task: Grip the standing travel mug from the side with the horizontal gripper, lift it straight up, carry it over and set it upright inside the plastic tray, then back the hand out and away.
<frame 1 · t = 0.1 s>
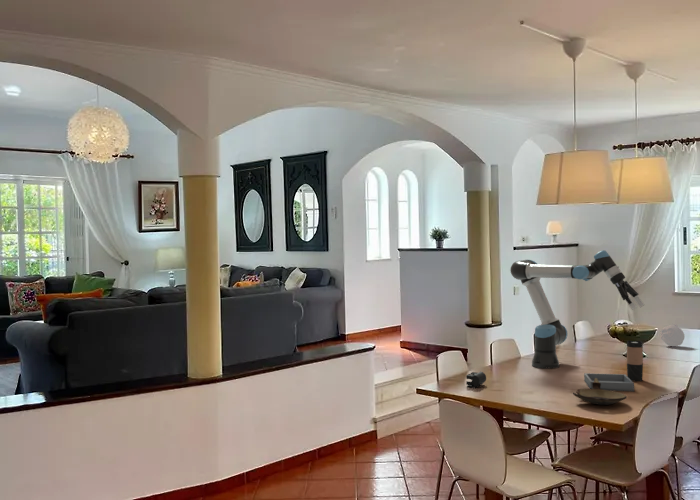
hand: (638, 307, 350), 36 cm above the table, tool tilted 35°, fingers open, 13 cm apart
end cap: (476, 386, 325), on the table
decorative ball: (672, 347, 429), on the table
parts tray: (608, 385, 321), on the table
oil lamp: (601, 402, 291), on the table
travel mug: (634, 380, 334), on the table
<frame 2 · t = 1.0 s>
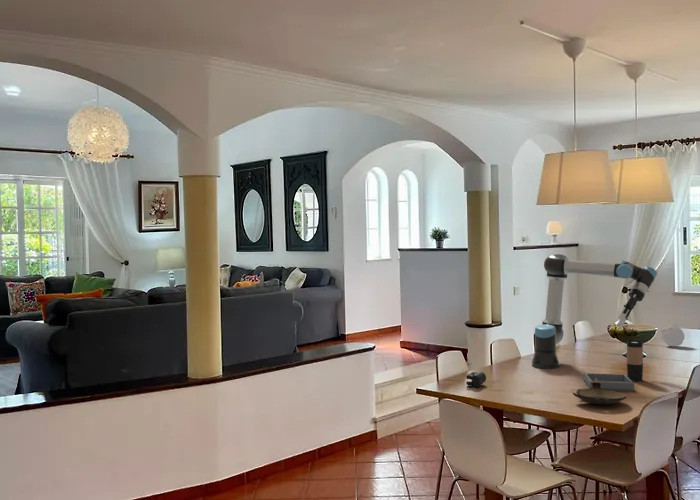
hand: (619, 323, 347), 28 cm above the table, tool tilted 40°, fingers open, 13 cm apart
nothing on the table moved.
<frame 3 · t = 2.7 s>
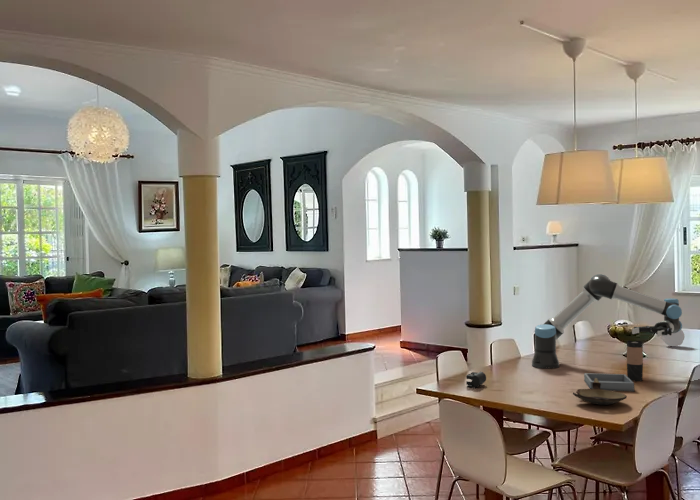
hand: (645, 332, 339), 24 cm above the table, tool horizontal, fingers open, 13 cm apart
nothing on the table moved.
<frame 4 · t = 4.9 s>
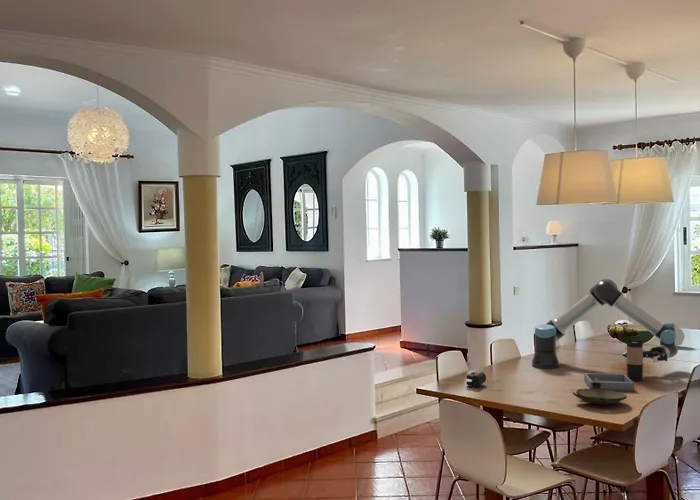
hand: (640, 358, 337), 11 cm above the table, tool horizontal, fingers open, 13 cm apart
nothing on the table moved.
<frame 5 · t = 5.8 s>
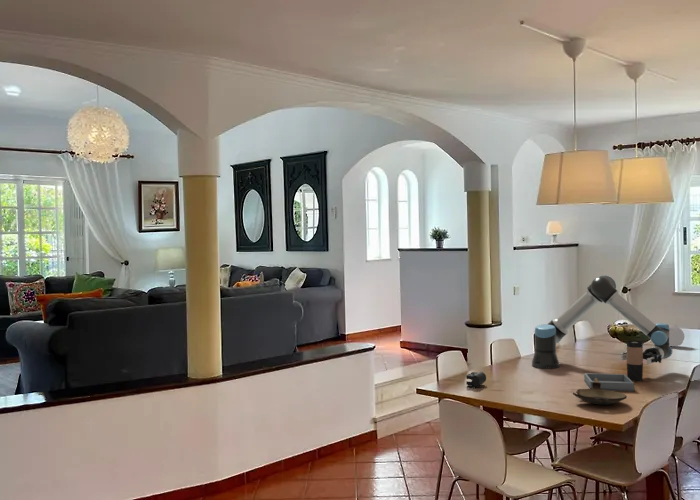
hand: (634, 359, 333), 11 cm above the table, tool horizontal, fingers open, 13 cm apart
nothing on the table moved.
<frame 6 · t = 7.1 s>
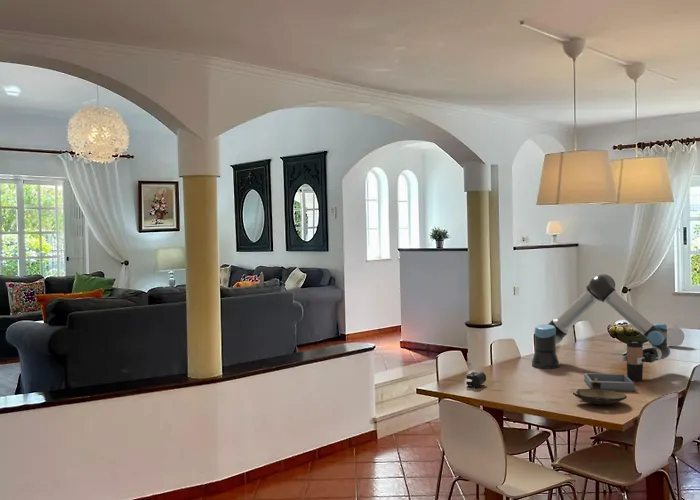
hand: (630, 360, 331), 11 cm above the table, tool horizontal, fingers closed on travel mug, 7 cm apart
travel mug: (634, 380, 334), on the table, touching gripper
everything else where it was.
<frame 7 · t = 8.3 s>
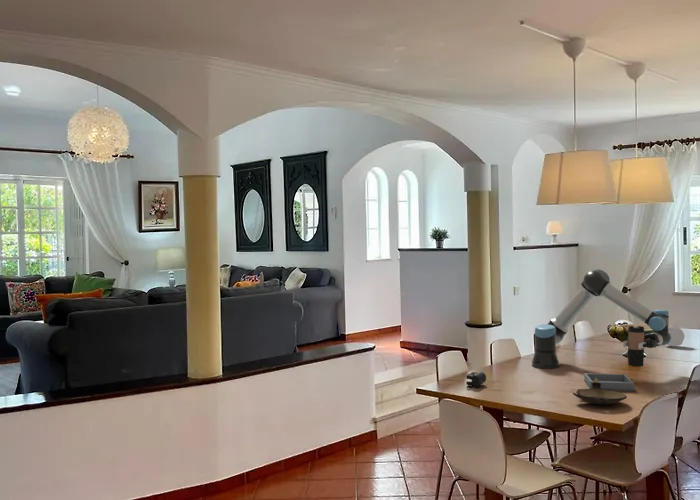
hand: (631, 345, 330), 19 cm above the table, tool horizontal, fingers closed on travel mug, 7 cm apart
travel mug: (635, 365, 333), point 8 cm above the table, touching gripper
everything else where it was.
when the fingers open (14 cm above the table, at t = 13.7 s): travel mug drops 2 cm, resting on parts tray.
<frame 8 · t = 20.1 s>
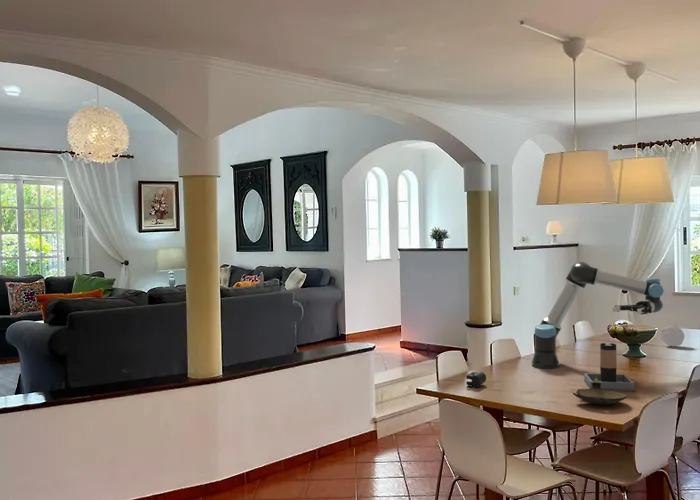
hand: (625, 310, 345), 35 cm above the table, tool horizontal, fingers open, 13 cm apart
travel mug: (608, 384, 321), point 1 cm above the table, touching parts tray
everything else where it was.
at the end: travel mug inside the target area on the parts tray (0.1 cm from its centre), point 0.8 cm above the parts tray's base; travel mug tilted 0°; the gripper is holding nothing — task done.
